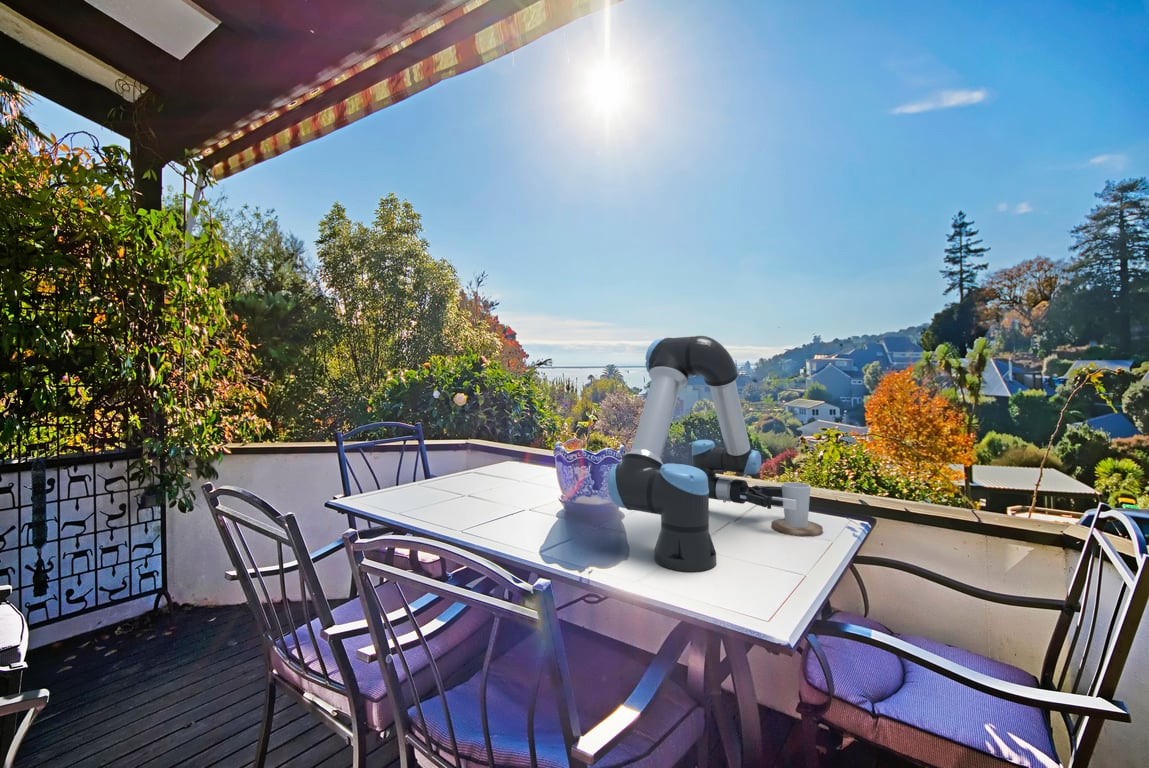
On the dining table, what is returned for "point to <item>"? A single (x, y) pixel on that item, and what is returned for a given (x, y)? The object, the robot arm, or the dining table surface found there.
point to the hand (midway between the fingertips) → (802, 500)
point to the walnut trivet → (811, 530)
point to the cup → (797, 504)
